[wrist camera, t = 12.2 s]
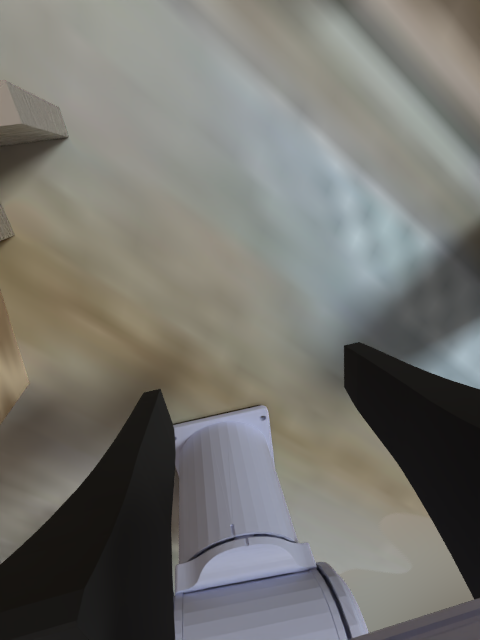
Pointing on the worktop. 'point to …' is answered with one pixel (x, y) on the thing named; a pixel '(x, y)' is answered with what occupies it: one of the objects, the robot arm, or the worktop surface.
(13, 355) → the maple rail
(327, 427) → the worktop surface
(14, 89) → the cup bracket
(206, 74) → the worktop surface
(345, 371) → the robot arm
